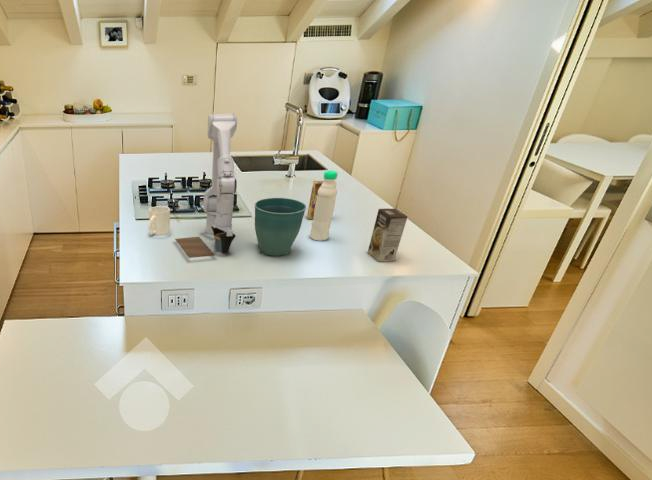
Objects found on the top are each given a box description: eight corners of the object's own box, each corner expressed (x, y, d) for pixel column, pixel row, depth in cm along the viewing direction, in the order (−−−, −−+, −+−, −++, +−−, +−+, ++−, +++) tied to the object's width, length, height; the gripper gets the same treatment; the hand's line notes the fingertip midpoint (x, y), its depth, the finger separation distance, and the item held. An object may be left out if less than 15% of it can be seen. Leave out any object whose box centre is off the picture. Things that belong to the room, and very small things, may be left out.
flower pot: (289, 263, 181) (296, 216, 171) (242, 254, 189) (246, 208, 179) (304, 247, 193) (312, 202, 183) (260, 239, 201) (265, 195, 191)
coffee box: (366, 252, 188) (377, 208, 179) (383, 251, 189) (395, 207, 179) (377, 261, 181) (390, 216, 171) (395, 261, 181) (408, 215, 172)
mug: (158, 242, 200) (158, 216, 194) (140, 238, 204) (140, 213, 197) (173, 233, 208) (173, 208, 202) (156, 229, 212) (156, 205, 206)
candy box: (308, 219, 219) (314, 183, 210) (306, 216, 222) (312, 180, 213) (329, 219, 218) (336, 183, 209) (327, 216, 222) (334, 180, 213)
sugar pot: (222, 249, 193) (223, 229, 188) (231, 253, 189) (233, 234, 185) (210, 252, 191) (212, 232, 186) (220, 257, 187) (221, 237, 182)
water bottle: (328, 235, 203) (341, 170, 188) (327, 241, 197) (341, 174, 183) (310, 234, 205) (321, 168, 190) (308, 240, 199) (320, 173, 185)
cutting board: (174, 242, 200) (174, 238, 199) (199, 240, 201) (199, 236, 200) (188, 261, 184) (188, 257, 183) (214, 259, 185) (215, 255, 184)
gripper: (207, 207, 186) (205, 242, 194) (220, 219, 175) (217, 256, 183) (225, 205, 187) (223, 241, 195) (239, 217, 176) (236, 255, 184)
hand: (221, 248), depth 189 cm, fingers open, 7 cm apart
